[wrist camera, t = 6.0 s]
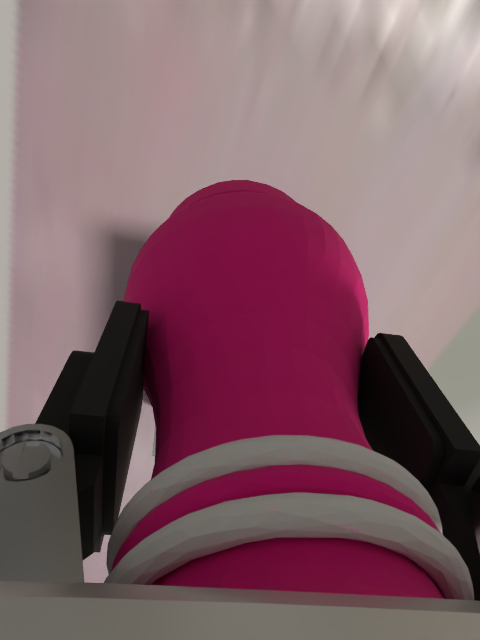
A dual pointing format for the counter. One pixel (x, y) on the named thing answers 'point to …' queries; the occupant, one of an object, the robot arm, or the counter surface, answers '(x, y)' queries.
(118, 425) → the robot arm
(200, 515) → the pepper mill
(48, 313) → the counter surface
